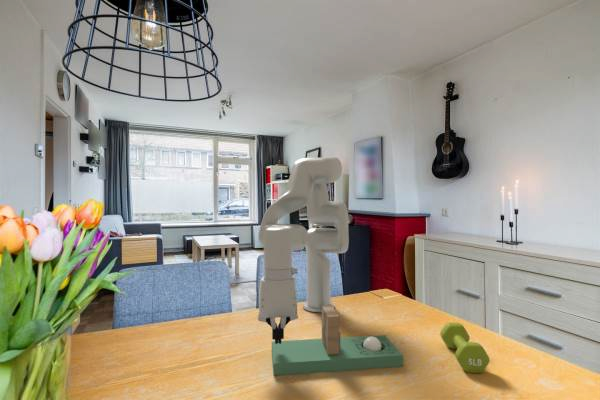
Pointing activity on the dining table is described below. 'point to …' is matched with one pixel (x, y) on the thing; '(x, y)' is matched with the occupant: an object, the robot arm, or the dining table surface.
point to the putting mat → (332, 356)
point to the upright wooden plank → (330, 330)
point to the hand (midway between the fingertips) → (277, 341)
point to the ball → (372, 344)
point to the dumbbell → (465, 348)
